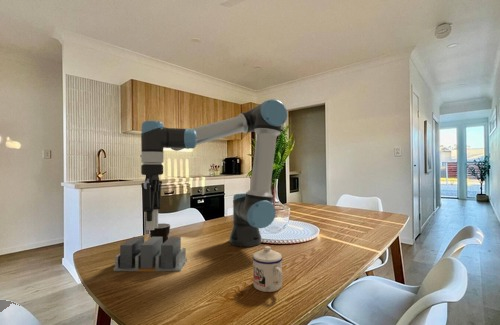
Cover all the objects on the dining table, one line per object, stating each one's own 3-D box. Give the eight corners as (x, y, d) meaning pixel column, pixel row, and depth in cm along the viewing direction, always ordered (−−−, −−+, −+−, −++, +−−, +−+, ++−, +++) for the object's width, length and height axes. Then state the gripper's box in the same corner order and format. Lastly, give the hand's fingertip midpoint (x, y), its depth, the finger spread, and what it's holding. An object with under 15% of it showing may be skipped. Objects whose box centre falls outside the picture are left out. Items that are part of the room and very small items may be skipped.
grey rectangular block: (162, 257, 95) (162, 236, 96) (152, 268, 85) (152, 245, 86) (152, 257, 95) (152, 236, 96) (140, 268, 85) (140, 245, 86)
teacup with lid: (247, 282, 78) (247, 245, 78) (271, 276, 82) (271, 240, 82) (268, 301, 67) (268, 257, 67) (294, 292, 72) (294, 251, 72)
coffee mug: (163, 252, 104) (163, 228, 104) (144, 251, 106) (145, 227, 106) (177, 244, 115) (177, 222, 115) (160, 242, 117) (160, 221, 117)
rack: (187, 260, 95) (187, 236, 96) (179, 271, 85) (180, 245, 86) (127, 260, 95) (127, 236, 95) (112, 271, 85) (112, 245, 85)
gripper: (150, 163, 99) (150, 223, 99) (131, 163, 83) (131, 234, 83) (169, 163, 99) (169, 223, 99) (154, 163, 83) (154, 234, 83)
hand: (152, 228), depth 91 cm, fingers open, 3 cm apart
